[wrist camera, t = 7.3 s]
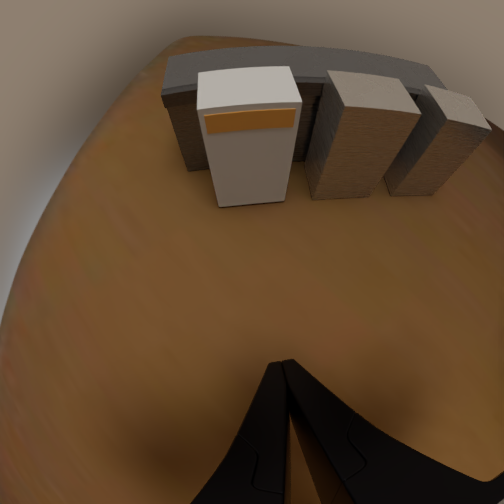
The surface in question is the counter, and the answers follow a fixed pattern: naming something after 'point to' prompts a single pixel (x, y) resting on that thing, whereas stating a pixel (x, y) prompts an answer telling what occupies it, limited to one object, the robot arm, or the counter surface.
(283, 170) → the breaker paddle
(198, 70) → the box
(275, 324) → the counter surface
